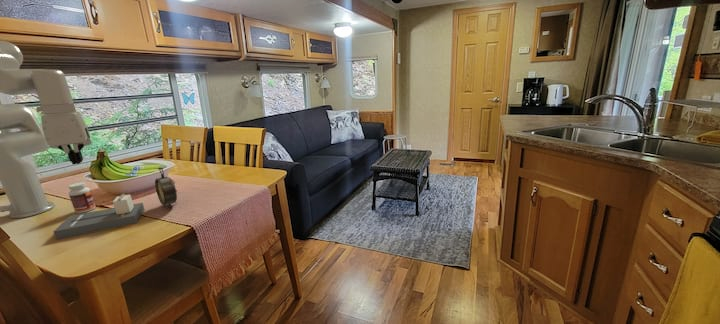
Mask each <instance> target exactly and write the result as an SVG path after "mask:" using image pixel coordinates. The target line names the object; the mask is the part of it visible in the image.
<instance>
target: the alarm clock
mask: <svg viewBox="0 0 720 324" xmlns="http://www.w3.org/2000/svg"><path fill="white" fill-rule="evenodd" d="M158 171H159V172H160V176H161V177H157V178H155V181H154V185H155V191H156V194H157V197H158V200H159V202H160V204H161V206H163V207H164V206H168V208H169V209H170V210H172V209H173V208H172V206H171V205H172V204H174V203H175V204H177V200H178V199H177V198H178V193H177V192H178V190H177V189H176V185H175V184H174V183H175V182H174V181H173V179H172V178H171V177H169V176H165V174H164V170H163V168H162V167H160V166H159V167H158Z"/></svg>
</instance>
